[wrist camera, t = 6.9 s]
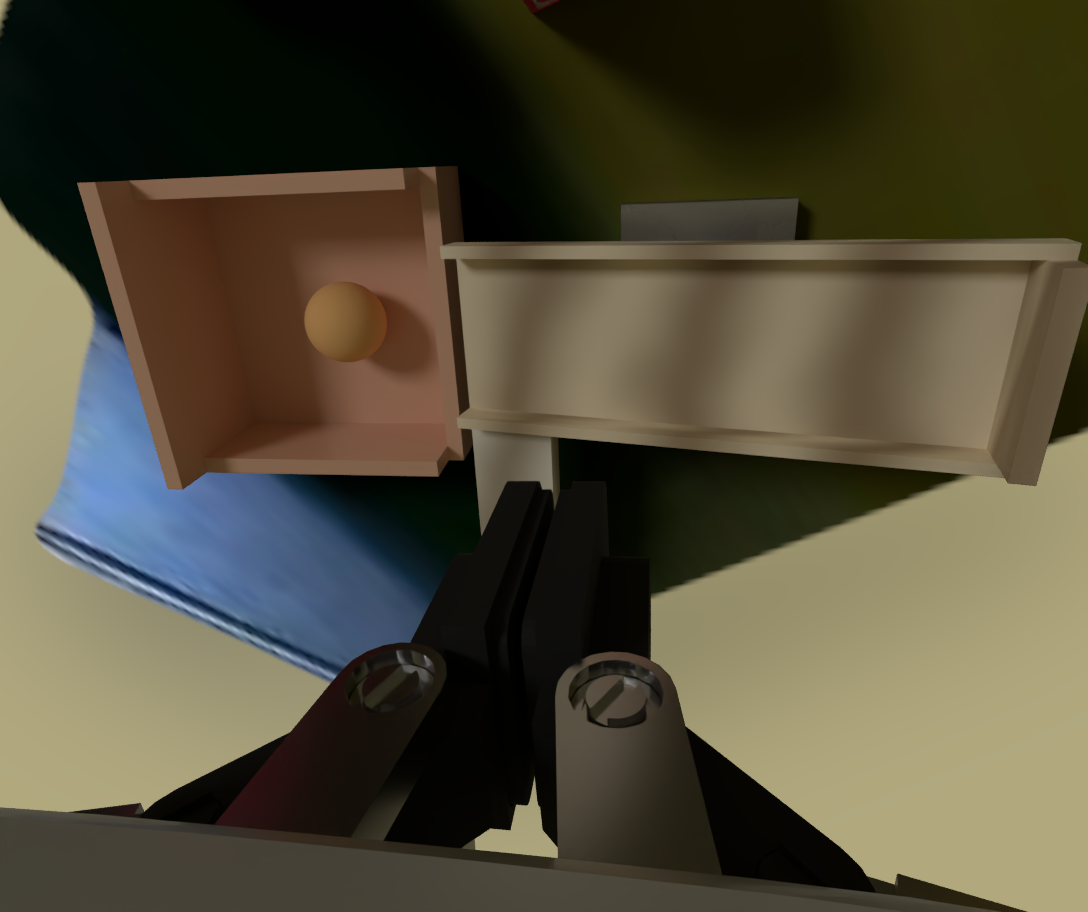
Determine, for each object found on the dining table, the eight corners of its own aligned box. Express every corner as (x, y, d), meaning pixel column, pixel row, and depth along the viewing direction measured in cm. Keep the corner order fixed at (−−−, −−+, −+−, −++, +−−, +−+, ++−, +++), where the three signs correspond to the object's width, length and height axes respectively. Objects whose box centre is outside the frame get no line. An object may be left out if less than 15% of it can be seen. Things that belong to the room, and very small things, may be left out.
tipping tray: (1038, 229, 24) (1101, 249, 19) (950, 596, 31) (980, 686, 26) (483, 234, 31) (420, 251, 26) (505, 533, 38) (458, 593, 33)
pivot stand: (793, 197, 32) (828, 205, 26) (773, 399, 36) (799, 447, 30) (621, 203, 33) (618, 213, 27) (621, 398, 37) (617, 445, 31)
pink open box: (457, 166, 33) (406, 167, 26) (480, 431, 38) (443, 495, 31) (194, 178, 35) (77, 183, 28) (252, 429, 40) (167, 489, 33)
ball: (359, 288, 31) (281, 289, 32) (372, 372, 33) (297, 371, 33) (394, 275, 35) (322, 276, 35) (403, 351, 36) (335, 350, 37)
